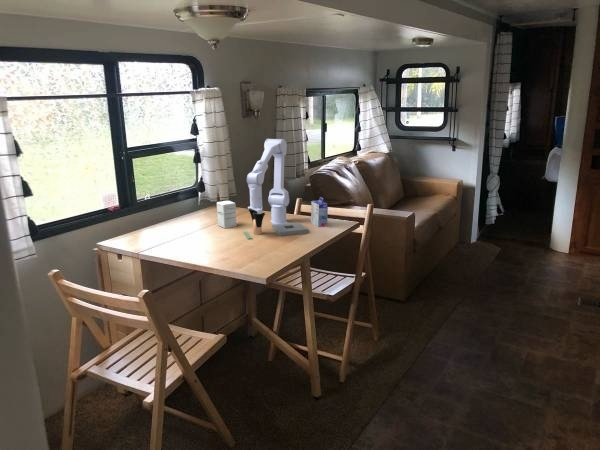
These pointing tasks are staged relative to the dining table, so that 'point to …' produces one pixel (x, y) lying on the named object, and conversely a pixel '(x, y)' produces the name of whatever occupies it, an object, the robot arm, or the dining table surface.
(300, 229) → the grey socket board
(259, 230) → the plug
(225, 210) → the supplement box
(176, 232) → the dining table surface
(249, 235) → the mat
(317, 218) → the ink cartridge box
